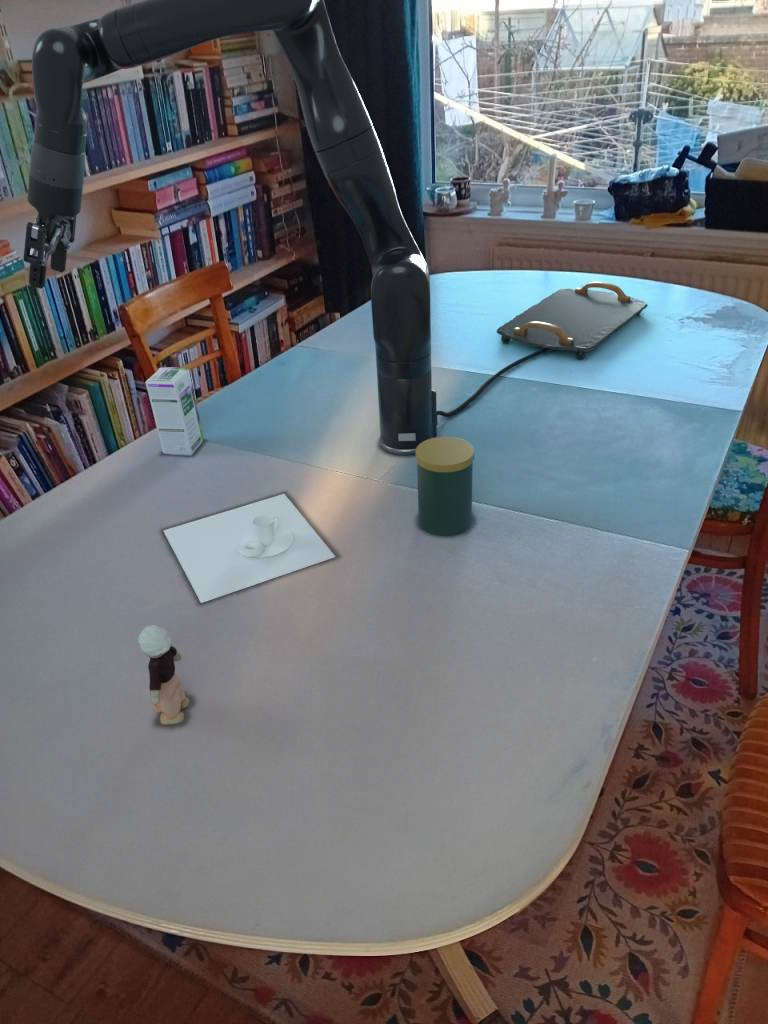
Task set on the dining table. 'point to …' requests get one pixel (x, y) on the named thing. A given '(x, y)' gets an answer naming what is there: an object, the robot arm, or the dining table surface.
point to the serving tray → (573, 319)
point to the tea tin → (445, 485)
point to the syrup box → (175, 410)
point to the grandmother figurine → (163, 675)
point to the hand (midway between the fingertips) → (47, 278)
